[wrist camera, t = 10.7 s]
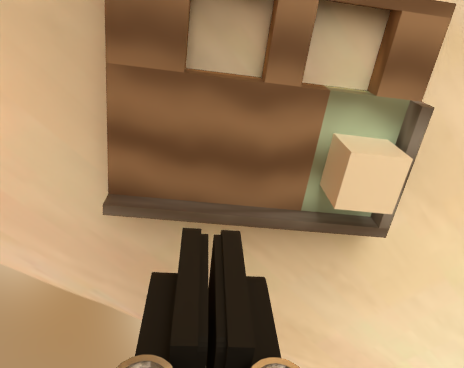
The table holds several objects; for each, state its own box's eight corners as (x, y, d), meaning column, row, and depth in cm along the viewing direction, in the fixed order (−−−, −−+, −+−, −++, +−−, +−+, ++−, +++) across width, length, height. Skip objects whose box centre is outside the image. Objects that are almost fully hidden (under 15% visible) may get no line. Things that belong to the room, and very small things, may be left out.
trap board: (110, -48, 27) (95, -55, 23) (441, 3, 30) (473, 4, 26) (113, 193, 36) (103, 214, 32) (369, 215, 38) (385, 237, 35)
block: (333, 133, 32) (351, 152, 28) (387, 139, 33) (412, 159, 29) (319, 184, 34) (334, 208, 30) (370, 189, 35) (391, 214, 31)
